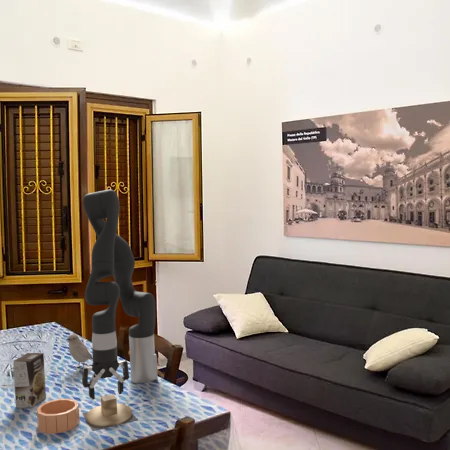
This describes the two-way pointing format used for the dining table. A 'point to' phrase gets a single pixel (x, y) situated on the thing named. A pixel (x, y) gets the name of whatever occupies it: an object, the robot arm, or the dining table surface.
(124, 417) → the oak lid
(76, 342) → the bird
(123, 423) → the rubber mat
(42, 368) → the coffee box
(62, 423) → the terracotta bowl
